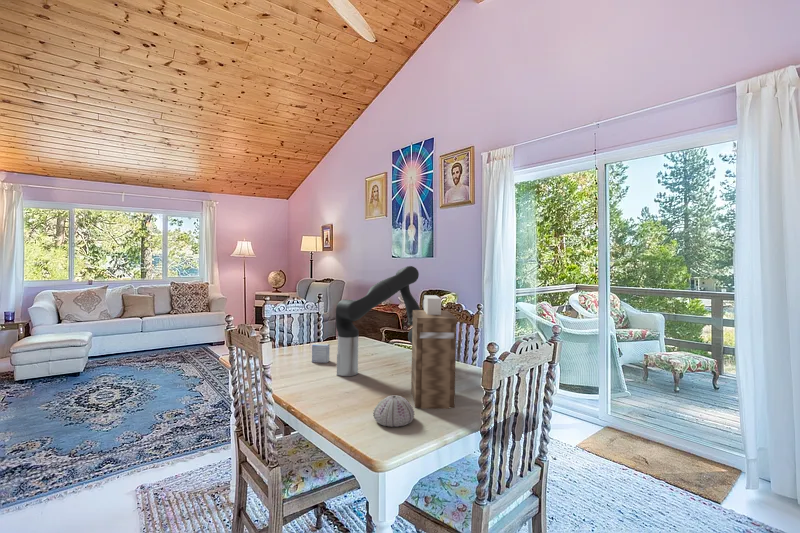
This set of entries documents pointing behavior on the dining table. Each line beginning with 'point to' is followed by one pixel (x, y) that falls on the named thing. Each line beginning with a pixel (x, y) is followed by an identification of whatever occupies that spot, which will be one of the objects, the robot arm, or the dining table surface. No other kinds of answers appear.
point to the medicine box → (320, 353)
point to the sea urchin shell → (394, 411)
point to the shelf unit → (433, 360)
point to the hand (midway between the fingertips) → (426, 311)
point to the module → (432, 304)
